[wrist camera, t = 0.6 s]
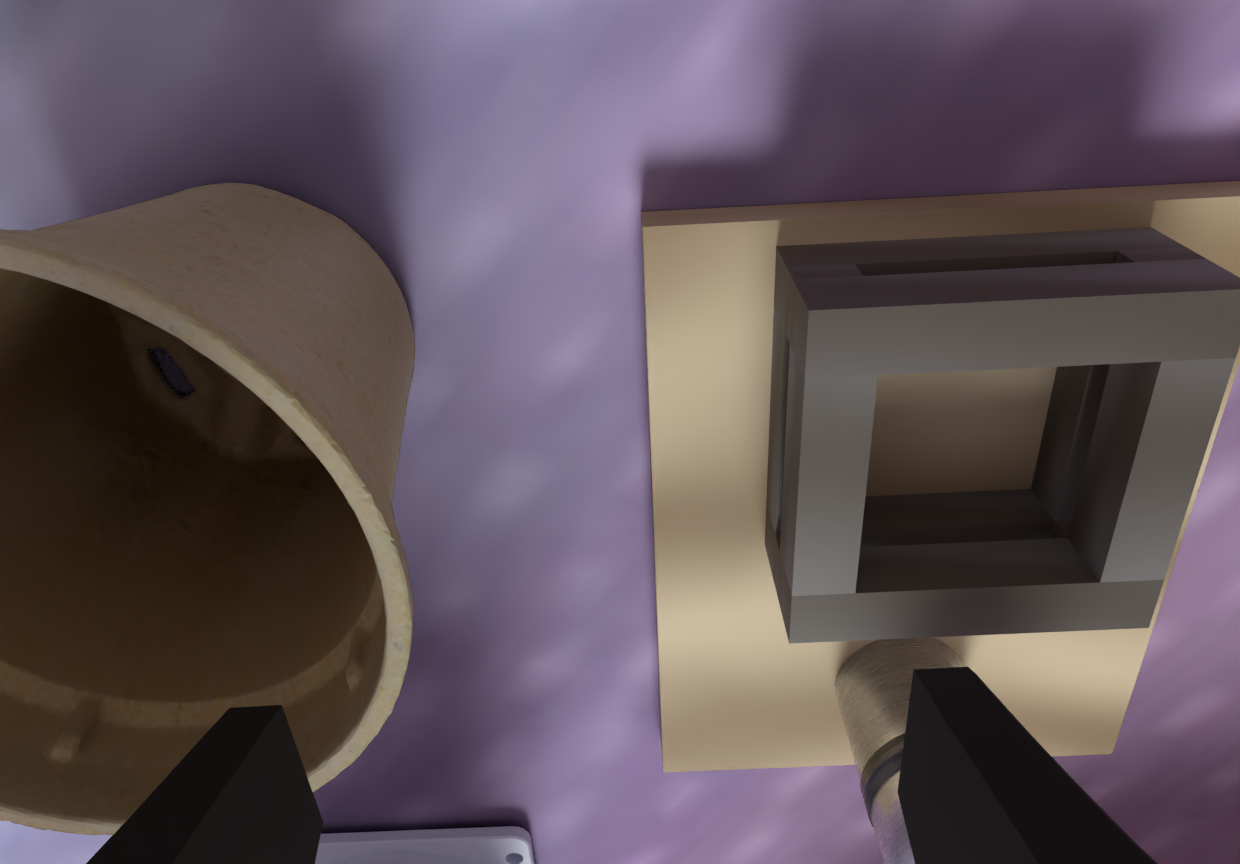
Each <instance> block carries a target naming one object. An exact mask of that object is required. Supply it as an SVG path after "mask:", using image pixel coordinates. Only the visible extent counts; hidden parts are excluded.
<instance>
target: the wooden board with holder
mask: <svg viewBox="0 0 1240 864" xmlns="http://www.w3.org/2000/svg"><path fill="white" fill-rule="evenodd" d="M641 223H642V249H643V275H644V301H645V327H646V353H647V379H648V405H649V431H650V457H651V483H652V509H653V535H654V561H655V587H656V613H657V639H658V665H659V691H660V717H661V743H662V759H663V772H684V771H709V770H733V769H757V768H782V767H806V766H831V765H855V761H854V758H853V754H852V751H851V747H850V744H849V740H848V737H847V733H846V730H845V727H844V723H843V720H842V716H841V713H840V709H839V706H838V702H837V699H836V695H835V681H836V677H837V674H838V672H839V670H840V668H841V666H842V665H843V664H844V662H845V661H846V660H847V659H848V658H849V657H850V656H851V655H852V654H853V653H855V652H856V651H857V650H859V649H860V648H862V647H863V646H865V645H867V644H869V643H871V642H873V641H876V640H882V639H905V638H928V637H932V638H935V639H938V640H940V641H942V642H944V643H945V644H947V645H948V646H950V647H951V648H952V649H953V650H954V651H955V652H956V654H957V655H958V657H959V659H960V661H961V663H962V665H963V667H969V668H970V669H971V670H972V671H974V672H975V673H976V674H977V675H978V676H979V678H980V679H981V680H982V681H983V682H984V683H985V684H986V685H987V686H988V688H989V689H990V690H991V691H992V692H993V693H994V694H995V695H996V696H997V698H998V699H999V700H1000V701H1001V702H1002V703H1003V704H1004V705H1005V706H1006V708H1007V709H1008V710H1009V711H1010V712H1011V713H1012V714H1013V715H1014V716H1015V718H1016V719H1017V720H1018V721H1019V722H1020V723H1021V724H1022V725H1023V726H1024V727H1025V728H1026V730H1027V731H1028V732H1029V733H1030V734H1031V735H1032V736H1033V737H1034V738H1035V739H1036V740H1037V742H1038V743H1039V744H1040V745H1041V746H1042V747H1043V748H1044V749H1045V750H1046V751H1047V752H1048V753H1049V754H1050V755H1051V756H1074V755H1099V754H1112V753H1113V750H1114V746H1115V743H1116V740H1117V737H1118V734H1119V731H1120V728H1121V725H1122V722H1123V719H1124V716H1125V713H1126V710H1127V707H1128V703H1129V700H1130V697H1131V694H1132V691H1133V688H1134V685H1135V682H1136V679H1137V676H1138V673H1139V670H1140V667H1141V664H1142V661H1143V657H1144V654H1145V651H1146V648H1147V645H1148V642H1149V639H1150V636H1151V633H1152V630H1153V627H1154V624H1155V621H1156V618H1157V615H1158V611H1159V608H1160V605H1161V602H1162V599H1163V596H1164V593H1165V590H1166V587H1167V584H1168V581H1169V578H1170V575H1171V572H1172V569H1173V565H1174V562H1175V559H1176V556H1177V553H1178V550H1179V547H1180V544H1181V541H1182V538H1183V535H1184V532H1185V529H1186V526H1187V523H1188V519H1189V516H1190V513H1191V510H1192V507H1193V504H1194V501H1195V498H1196V495H1197V492H1198V489H1199V486H1200V483H1201V480H1202V477H1203V473H1204V470H1205V467H1206V464H1207V461H1208V458H1209V455H1210V452H1211V449H1212V446H1213V443H1214V440H1215V437H1216V434H1217V431H1218V427H1219V424H1220V421H1221V418H1222V415H1223V412H1224V409H1225V406H1226V403H1227V400H1228V397H1229V394H1230V391H1231V388H1232V385H1233V381H1234V378H1235V375H1236V372H1237V369H1238V366H1239V363H1240V181H1225V182H1205V183H1186V184H1167V185H1147V186H1128V187H1109V188H1089V189H1070V190H1051V191H1032V192H1012V193H993V194H974V195H954V196H935V197H916V198H897V199H877V200H858V201H839V202H819V203H800V204H781V205H761V206H742V207H723V208H704V209H684V210H665V211H646V212H641Z"/></svg>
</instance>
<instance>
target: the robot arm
mask: <svg viewBox="0 0 1240 864" xmlns="http://www.w3.org/2000/svg"><path fill="white" fill-rule="evenodd" d="M898 796H899V800H900V804H901V808H902V813H903V817H904V821H905V825H906V829H907V833H908V837H909V841H910V845H911V849H912V853H913V857H914V861H915V864H1157V863H1156V862H1155V861H1154V860H1153V859H1152V858H1151V857H1150V856H1149V855H1148V854H1147V853H1146V852H1145V851H1144V850H1142V849H1141V848H1140V847H1139V846H1138V845H1137V844H1136V843H1135V842H1134V841H1133V840H1132V839H1131V838H1130V837H1129V836H1128V835H1127V834H1126V833H1125V832H1124V831H1123V830H1122V829H1121V828H1120V827H1119V826H1118V825H1117V824H1116V823H1115V822H1114V821H1113V820H1112V819H1111V818H1110V817H1109V816H1108V815H1107V814H1106V812H1105V811H1104V810H1103V809H1102V808H1101V807H1100V806H1099V805H1098V804H1097V803H1096V802H1095V801H1094V800H1093V799H1092V798H1091V797H1090V796H1089V795H1088V794H1087V793H1086V792H1085V791H1084V790H1083V789H1082V788H1081V787H1080V786H1079V785H1078V784H1077V783H1076V782H1075V781H1074V780H1073V779H1072V778H1071V777H1070V776H1069V775H1068V774H1067V773H1066V772H1065V770H1064V769H1063V768H1062V767H1061V766H1060V765H1059V764H1058V763H1057V762H1056V761H1055V760H1054V759H1053V758H1052V757H1051V755H1050V754H1049V753H1048V752H1047V751H1046V750H1045V749H1044V748H1043V747H1042V746H1041V745H1040V744H1039V743H1038V742H1037V740H1036V739H1035V738H1034V737H1033V736H1032V735H1031V734H1030V733H1029V732H1028V731H1027V730H1026V728H1025V727H1024V726H1023V725H1022V724H1021V723H1020V722H1019V721H1018V720H1017V719H1016V718H1015V716H1014V715H1013V714H1012V713H1011V712H1010V711H1009V710H1008V709H1007V708H1006V706H1005V705H1004V704H1003V703H1002V702H1001V701H1000V700H999V699H998V698H997V696H996V695H995V694H994V693H993V692H992V691H991V690H990V689H989V688H988V686H987V685H986V684H985V683H984V682H983V681H982V680H981V679H980V678H979V676H978V675H977V674H976V673H975V672H974V671H972V670H971V669H970V668H969V667H950V668H932V669H915V670H913V676H912V684H911V692H910V699H909V707H908V715H907V722H906V730H905V738H904V745H903V753H902V761H901V769H900V776H899V784H898ZM322 825H323V821H322V818H321V815H320V812H319V809H318V806H317V804H316V801H315V798H314V795H313V792H312V789H311V786H310V784H309V781H308V778H307V775H306V772H305V769H304V766H303V764H302V761H301V758H300V755H299V752H298V749H297V746H296V744H295V741H294V738H293V735H292V732H291V729H290V726H289V724H288V721H287V718H286V715H285V712H284V709H283V707H282V705H270V706H252V707H234V708H229V709H228V710H227V711H226V712H225V713H224V714H223V715H222V717H221V718H220V719H219V720H218V721H217V722H216V723H215V724H214V725H213V726H212V727H211V728H210V729H209V731H208V732H207V733H206V734H205V735H204V736H203V737H202V738H201V739H200V740H199V741H198V742H197V744H196V745H195V746H194V747H193V748H192V749H191V750H190V751H189V752H188V753H187V755H186V756H185V757H184V758H183V759H182V760H181V761H180V762H179V763H178V764H177V766H176V767H175V768H174V769H173V770H172V771H171V772H170V773H169V774H168V776H167V777H166V778H165V779H164V780H163V781H162V782H161V783H160V784H159V786H158V787H157V788H156V789H155V790H154V791H153V792H152V793H151V794H150V795H149V796H148V798H147V799H146V800H145V801H144V802H143V803H142V804H141V805H140V806H139V807H138V809H137V810H136V811H135V812H134V813H133V814H132V815H131V816H130V817H129V818H128V820H127V821H126V822H125V823H124V824H123V825H122V826H121V827H120V828H119V829H118V830H117V831H116V832H115V833H114V835H113V836H112V837H111V838H110V839H109V840H108V841H107V842H106V843H105V844H104V845H103V846H102V847H101V848H100V849H99V851H98V852H97V853H96V854H95V855H94V856H93V857H92V858H91V859H90V860H89V861H88V862H87V863H86V864H535V862H534V856H533V850H532V843H531V837H530V835H529V833H528V832H527V831H526V830H525V829H523V828H521V827H517V826H502V827H477V828H452V829H427V830H402V831H377V832H353V833H328V834H321V830H322Z"/></svg>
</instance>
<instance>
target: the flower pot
mask: <svg viewBox="0 0 1240 864" xmlns="http://www.w3.org/2000/svg"><path fill="white" fill-rule="evenodd" d="M156 348H163V349H165V351H166V352H167V353H168V354H169V355H170V357H171V358H172V360H173V361H174V362H175V363H176V364H177V366H178V367H179V369H180V370H181V372H182V373H183V375H184V376H185V377H186V379H187V380H188V381H189V384H190V385H193V386H194V387H195V390H194V391H193V392H192V393H191V394H189V395H187V396H181V395H180V394H178V393H177V392H176V391H174V390H173V389H171V388H170V386H169V385H168V384H167V382H166V381H165V379H164V377H163V375H162V373H161V372H160V370H159V366H158V365H157V364H156V363H155V362H154V361H153V359H152V356H151V352H150V349H156ZM414 356H415V343H414V334H413V328H412V323H411V318H410V315H409V312H408V308H407V305H406V302H405V299H404V297H403V295H402V292H401V290H400V288H399V286H398V284H397V282H396V281H395V279H394V277H393V275H392V273H391V272H390V270H389V269H388V268H387V266H386V265H385V264H384V262H383V261H382V259H381V258H380V257H379V255H378V254H377V253H376V252H375V251H374V250H373V249H372V248H371V246H370V245H369V244H368V243H367V242H366V241H365V240H364V239H363V238H362V237H361V236H360V235H359V234H357V233H356V232H355V231H354V230H353V229H352V228H351V227H350V226H348V225H347V224H346V223H345V222H343V221H342V220H341V219H339V218H338V217H336V216H334V215H332V214H330V213H328V212H326V211H324V210H321V209H319V208H317V207H315V206H312V205H310V204H308V203H306V202H303V201H301V200H299V199H297V198H294V197H292V196H289V195H286V194H283V193H280V192H278V191H275V190H271V189H268V188H265V187H261V186H258V185H254V184H244V183H219V184H210V185H203V186H198V187H193V188H189V189H186V190H183V191H180V192H177V193H174V194H171V195H167V196H164V197H160V198H156V199H152V200H149V201H145V202H141V203H138V204H134V205H131V206H127V207H123V208H120V209H116V210H112V211H108V212H104V213H100V214H96V215H92V216H88V217H84V218H80V219H76V220H73V221H69V222H65V223H61V224H57V225H53V226H49V227H44V228H40V229H36V230H32V231H25V230H2V229H0V820H2V821H10V822H13V823H15V824H21V825H24V826H28V827H33V828H36V829H42V830H53V831H59V832H66V833H76V834H87V835H114V833H115V832H116V831H117V830H118V829H119V828H120V827H121V826H122V825H123V824H124V823H125V822H126V821H127V820H128V818H129V817H130V816H131V815H132V814H133V813H134V812H135V811H136V810H137V809H138V807H139V806H140V805H141V804H142V803H143V802H144V801H145V800H146V799H147V798H148V796H149V795H150V794H151V793H152V792H153V791H154V790H155V789H156V788H157V787H158V786H159V784H160V783H161V782H162V781H163V780H164V779H165V778H166V777H167V776H168V774H169V773H170V772H171V771H172V770H173V769H174V768H175V767H176V766H177V764H178V763H179V762H180V761H181V760H182V759H183V758H184V757H185V756H186V755H187V753H188V752H189V751H190V750H191V749H192V748H193V747H194V746H195V745H196V744H197V742H198V741H199V740H200V739H201V738H202V737H203V736H204V735H205V734H206V733H207V732H208V731H209V729H210V728H211V727H212V726H213V725H214V724H215V723H216V722H217V721H218V720H219V719H220V718H221V717H222V715H223V714H224V713H225V712H226V711H227V710H228V709H229V708H234V707H252V706H270V705H282V707H283V709H284V712H285V715H286V718H287V721H288V724H289V726H290V729H291V732H292V735H293V738H294V741H295V744H296V746H297V749H298V752H299V755H300V758H301V761H302V764H303V766H304V769H305V772H306V775H307V778H308V781H309V784H310V786H311V789H312V792H314V791H316V790H318V789H319V788H320V787H322V786H323V785H325V784H326V783H327V782H329V781H330V780H332V779H333V778H335V777H336V776H337V775H338V774H339V773H340V772H341V771H342V770H344V769H345V768H346V767H348V766H349V765H350V764H352V763H353V762H354V761H355V760H356V759H357V758H358V757H359V756H360V755H361V754H362V752H363V750H364V749H365V748H366V747H367V746H368V744H369V743H370V742H371V741H372V739H373V738H374V737H375V736H376V735H377V734H378V733H379V731H380V729H381V727H382V726H383V724H384V723H385V721H386V719H387V718H388V717H389V715H390V714H391V713H392V710H393V708H394V705H395V702H396V700H397V698H398V696H399V693H400V690H401V687H402V684H403V681H404V677H405V674H406V670H407V666H408V660H409V655H410V650H411V641H412V633H413V597H412V589H411V583H410V577H409V572H408V566H407V561H406V557H405V553H404V550H403V547H402V543H401V540H400V537H399V534H398V531H397V528H396V525H395V518H394V512H393V508H392V497H393V491H394V484H395V478H396V471H397V464H398V457H399V450H400V443H401V436H402V430H403V424H404V419H405V413H406V407H407V401H408V395H409V391H410V386H411V382H412V377H413V369H414Z"/></svg>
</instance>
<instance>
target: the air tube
mask: <svg viewBox="0 0 1240 864" xmlns="http://www.w3.org/2000/svg"><path fill="white" fill-rule="evenodd" d="M950 667H963V665H962V663H961V661H960V659H959V657H958V655H957V654H956V652H955V651H954V650H953V649H952V648H951V647H950V646H948V645H947V644H945V643H944V642H942V641H940V640H938V639H935V638H932V637H928V638H905V639H882V640H876V641H873V642H871V643H869V644H867V645H865V646H863V647H862V648H860V649H859V650H857V651H856V652H855V653H853V654H852V655H851V656H850V657H849V658H848V659H847V660H846V661H845V662H844V664H843V665H842V666H841V668H840V670H839V672H838V674H837V677H836V681H835V695H836V699H837V702H838V706H839V709H840V713H841V716H842V720H843V723H844V727H845V730H846V733H847V737H848V740H849V744H850V747H851V751H852V754H853V758H854V761H855V764H856V768H857V771H858V775H859V778H860V786H861V792H862V795H863V798H864V802H865V805H866V809H867V812H868V816H869V819H870V822H871V824H872V826H873V827H874V830H875V833H876V837H877V840H878V844H879V847H880V851H881V854H882V857H883V861H884V864H915V861H914V857H913V853H912V849H911V845H910V841H909V837H908V833H907V829H906V825H905V821H904V817H903V813H902V808H901V804H900V800H899V796H898V784H899V776H900V769H901V761H902V753H903V745H904V738H905V730H906V722H907V715H908V707H909V699H910V692H911V684H912V676H913V670H915V669H932V668H950Z"/></svg>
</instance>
